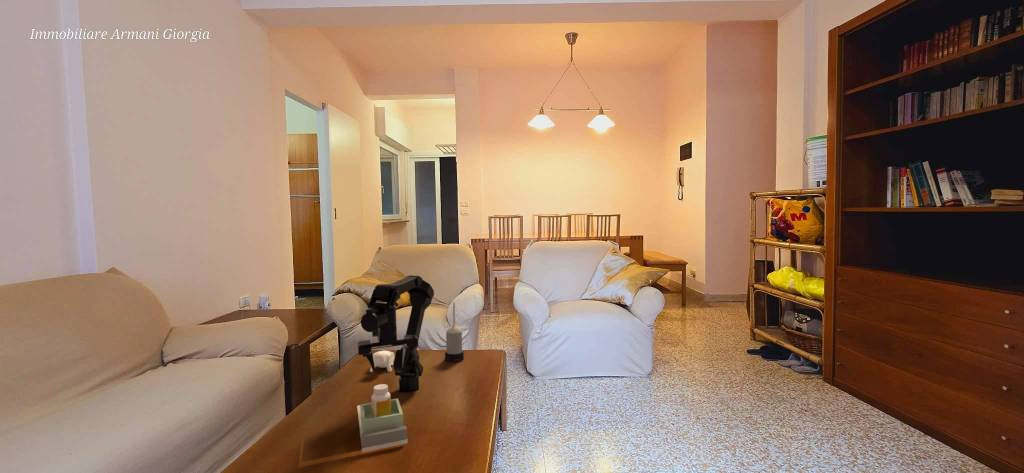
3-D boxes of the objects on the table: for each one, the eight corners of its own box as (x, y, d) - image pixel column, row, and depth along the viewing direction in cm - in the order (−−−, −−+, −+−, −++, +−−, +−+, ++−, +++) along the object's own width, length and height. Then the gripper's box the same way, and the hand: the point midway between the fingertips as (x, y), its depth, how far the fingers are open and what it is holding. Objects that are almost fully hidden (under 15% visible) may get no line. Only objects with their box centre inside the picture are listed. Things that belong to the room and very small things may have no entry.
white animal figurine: (375, 372, 183) (364, 371, 169) (377, 351, 186) (366, 349, 172) (395, 371, 184) (387, 371, 169) (397, 351, 186) (388, 348, 172)
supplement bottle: (394, 416, 129) (394, 384, 129) (382, 424, 125) (381, 391, 124) (380, 413, 132) (379, 381, 131) (367, 421, 127) (367, 388, 126)
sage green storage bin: (398, 416, 135) (397, 398, 135) (403, 432, 125) (403, 413, 125) (360, 422, 131) (360, 404, 131) (363, 440, 121) (362, 421, 121)
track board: (394, 402, 148) (394, 390, 147) (407, 443, 122) (407, 429, 121) (357, 408, 143) (356, 396, 143) (362, 452, 117) (361, 438, 117)
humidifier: (456, 363, 184) (455, 305, 183) (441, 360, 188) (440, 303, 187) (467, 357, 191) (467, 301, 190) (452, 354, 195) (452, 299, 194)
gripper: (411, 313, 152) (413, 357, 154) (355, 320, 145) (357, 365, 147) (418, 322, 142) (419, 368, 143) (357, 329, 135) (359, 378, 136)
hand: (388, 369), depth 143 cm, fingers open, 9 cm apart
